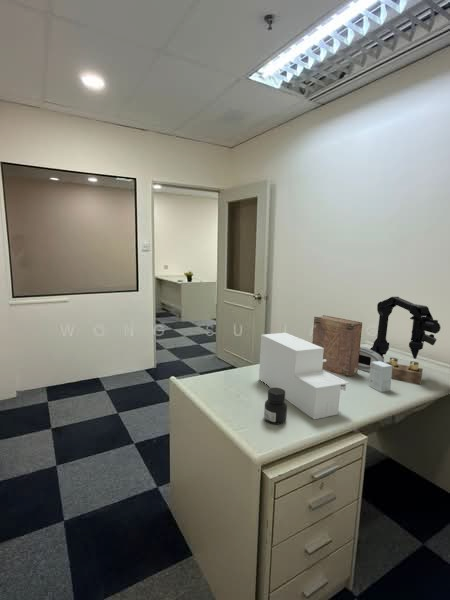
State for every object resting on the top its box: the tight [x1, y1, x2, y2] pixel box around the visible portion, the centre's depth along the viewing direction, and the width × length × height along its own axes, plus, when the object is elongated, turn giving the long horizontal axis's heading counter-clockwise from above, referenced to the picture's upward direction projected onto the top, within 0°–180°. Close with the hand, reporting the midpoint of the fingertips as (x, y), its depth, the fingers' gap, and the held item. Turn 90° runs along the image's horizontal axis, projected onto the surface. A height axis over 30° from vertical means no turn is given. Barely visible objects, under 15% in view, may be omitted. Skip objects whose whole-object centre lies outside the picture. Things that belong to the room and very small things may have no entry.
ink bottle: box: [263, 387, 288, 425], centre depth 128 cm, size 10×9×12 cm
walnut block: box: [385, 361, 424, 386], centre depth 177 cm, size 18×10×6 cm, turn 56°
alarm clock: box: [358, 346, 385, 373], centre depth 191 cm, size 23×6×13 cm, turn 42°
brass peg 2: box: [409, 360, 420, 372], centre depth 174 cm, size 4×4×6 cm
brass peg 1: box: [389, 357, 399, 368], centre depth 180 cm, size 4×4×6 cm
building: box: [258, 332, 350, 420], centre depth 151 cm, size 45×18×25 cm, turn 24°
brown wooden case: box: [311, 315, 363, 378], centre depth 187 cm, size 25×9×30 cm, turn 40°
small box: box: [368, 361, 392, 393], centre depth 162 cm, size 8×6×13 cm
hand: (415, 357), depth 173 cm, fingers open, 6 cm apart
